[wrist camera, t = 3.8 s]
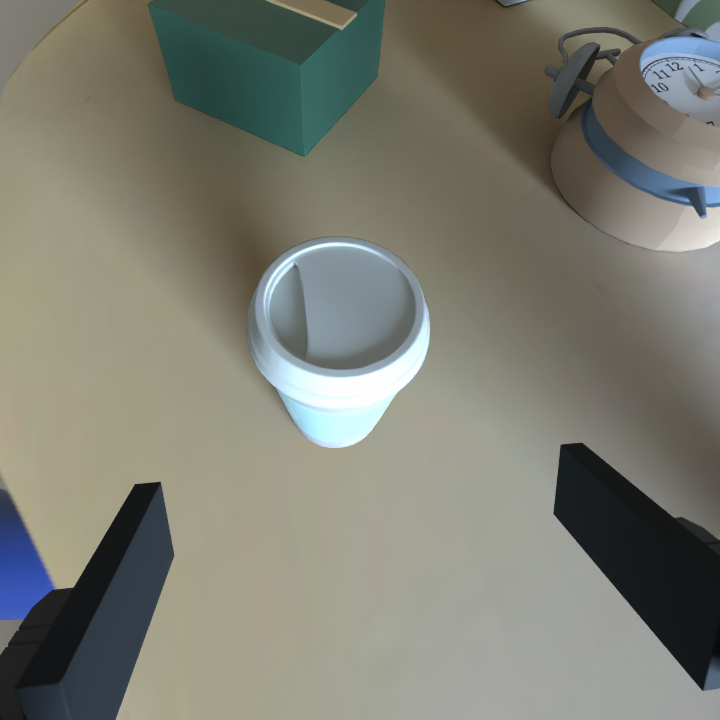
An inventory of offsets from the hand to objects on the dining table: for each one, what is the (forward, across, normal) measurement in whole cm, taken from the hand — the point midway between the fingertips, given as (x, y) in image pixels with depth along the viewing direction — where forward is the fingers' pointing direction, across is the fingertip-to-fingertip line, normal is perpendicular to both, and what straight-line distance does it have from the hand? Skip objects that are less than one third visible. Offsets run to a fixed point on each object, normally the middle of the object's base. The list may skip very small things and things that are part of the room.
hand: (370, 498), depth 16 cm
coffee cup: (+16, 0, -3) cm, 16 cm away
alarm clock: (+31, +29, +12) cm, 45 cm away
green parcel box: (+39, -2, +20) cm, 44 cm away
